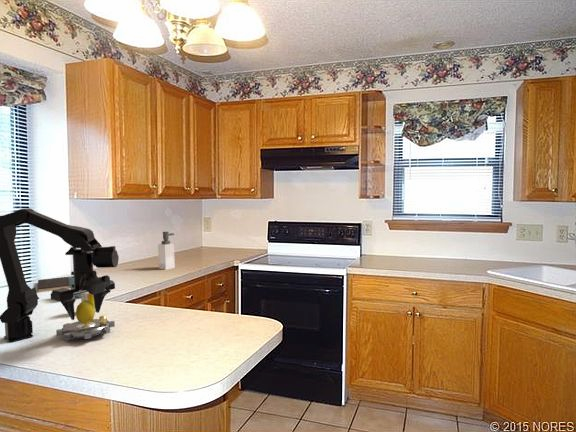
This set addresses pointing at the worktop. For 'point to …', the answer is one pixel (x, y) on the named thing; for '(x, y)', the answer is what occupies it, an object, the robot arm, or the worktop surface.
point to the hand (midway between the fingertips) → (85, 315)
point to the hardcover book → (53, 284)
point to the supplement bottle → (87, 297)
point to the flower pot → (71, 281)
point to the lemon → (85, 312)
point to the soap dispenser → (166, 253)
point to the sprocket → (85, 328)
